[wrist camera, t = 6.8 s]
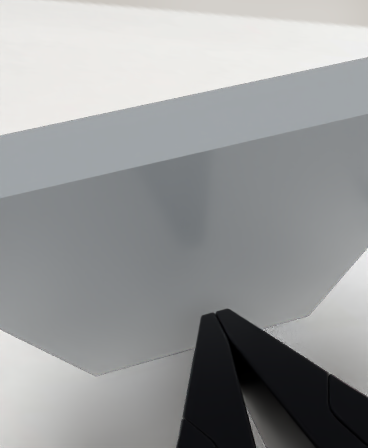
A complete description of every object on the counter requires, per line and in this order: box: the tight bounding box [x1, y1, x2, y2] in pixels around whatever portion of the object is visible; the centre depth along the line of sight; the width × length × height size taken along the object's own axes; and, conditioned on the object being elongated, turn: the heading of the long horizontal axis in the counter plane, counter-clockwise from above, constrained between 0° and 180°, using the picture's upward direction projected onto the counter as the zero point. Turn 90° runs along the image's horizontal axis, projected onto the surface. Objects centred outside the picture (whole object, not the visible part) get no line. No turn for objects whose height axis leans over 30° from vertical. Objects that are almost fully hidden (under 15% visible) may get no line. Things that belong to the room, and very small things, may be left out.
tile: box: [0, 57, 368, 376], centre depth 12 cm, size 2×12×14 cm, turn 105°
